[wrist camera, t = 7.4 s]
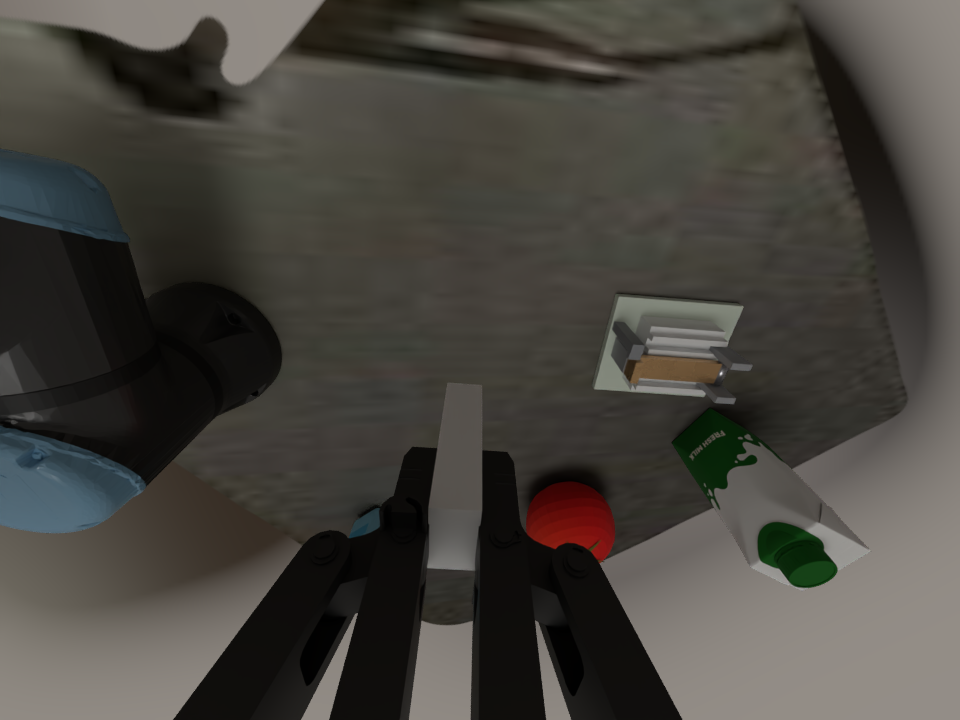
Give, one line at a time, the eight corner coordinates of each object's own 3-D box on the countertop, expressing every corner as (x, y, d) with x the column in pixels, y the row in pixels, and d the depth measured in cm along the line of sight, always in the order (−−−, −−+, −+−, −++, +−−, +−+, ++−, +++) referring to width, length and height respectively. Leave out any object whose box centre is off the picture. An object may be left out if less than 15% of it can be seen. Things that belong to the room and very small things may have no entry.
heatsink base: (591, 384, 47) (611, 424, 40) (616, 293, 41) (643, 321, 34) (699, 392, 47) (737, 432, 40) (738, 303, 42) (790, 332, 35)
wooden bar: (622, 374, 40) (629, 384, 38) (629, 351, 39) (636, 361, 37) (717, 380, 41) (728, 392, 39) (727, 358, 39) (739, 368, 38)
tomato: (606, 513, 58) (629, 580, 49) (529, 525, 60) (538, 592, 51) (599, 461, 53) (624, 525, 44) (516, 476, 55) (523, 540, 45)
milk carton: (709, 399, 48) (841, 538, 30) (757, 427, 50) (906, 572, 33) (661, 444, 52) (754, 591, 34) (707, 469, 54) (818, 619, 36)
